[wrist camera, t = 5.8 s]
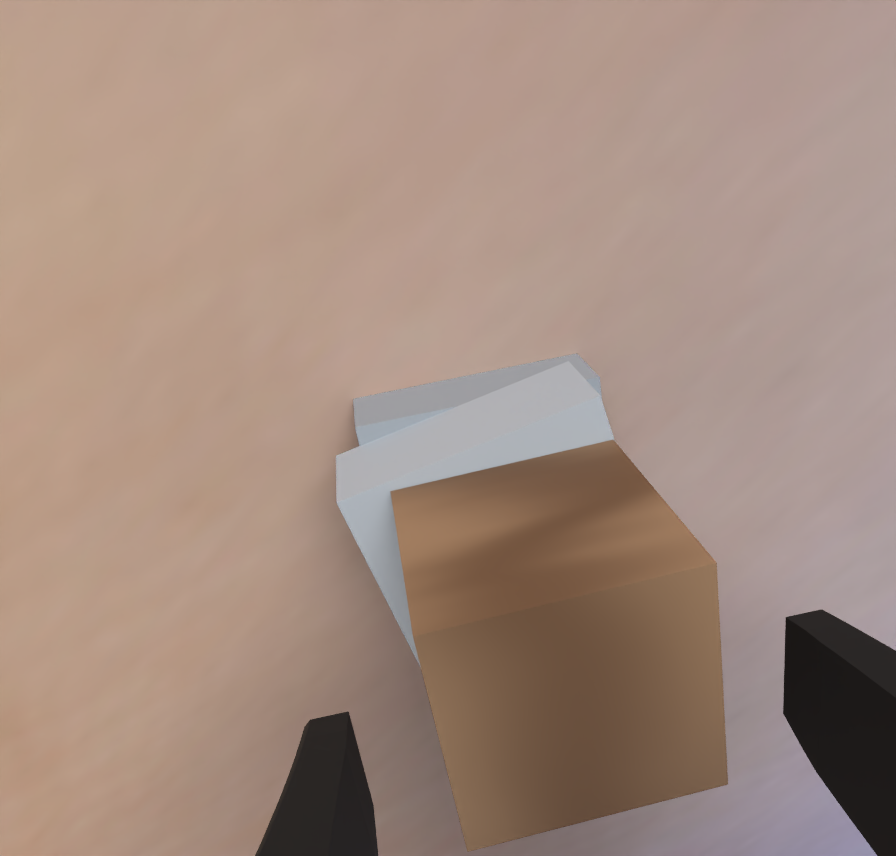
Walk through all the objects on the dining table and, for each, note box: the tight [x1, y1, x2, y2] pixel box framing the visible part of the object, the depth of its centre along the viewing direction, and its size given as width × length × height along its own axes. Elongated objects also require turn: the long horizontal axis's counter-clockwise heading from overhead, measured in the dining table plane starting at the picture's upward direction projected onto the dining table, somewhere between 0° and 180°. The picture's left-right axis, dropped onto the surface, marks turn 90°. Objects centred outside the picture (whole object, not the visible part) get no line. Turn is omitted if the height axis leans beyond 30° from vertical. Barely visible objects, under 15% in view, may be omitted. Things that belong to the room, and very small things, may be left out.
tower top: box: [336, 361, 615, 668], centre depth 17 cm, size 6×6×2 cm
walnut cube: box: [390, 440, 728, 852], centre depth 14 cm, size 4×4×4 cm
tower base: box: [353, 354, 602, 446], centre depth 19 cm, size 6×6×2 cm
